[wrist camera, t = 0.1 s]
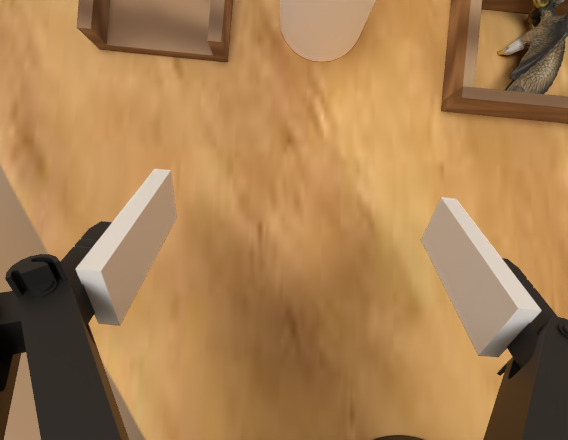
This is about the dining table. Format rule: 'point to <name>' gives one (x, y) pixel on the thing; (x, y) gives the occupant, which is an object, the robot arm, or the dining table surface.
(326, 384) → the dining table surface
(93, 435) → the robot arm
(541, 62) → the eagle figurine
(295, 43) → the cup
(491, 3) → the figurine frame
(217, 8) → the brown wooden tray
